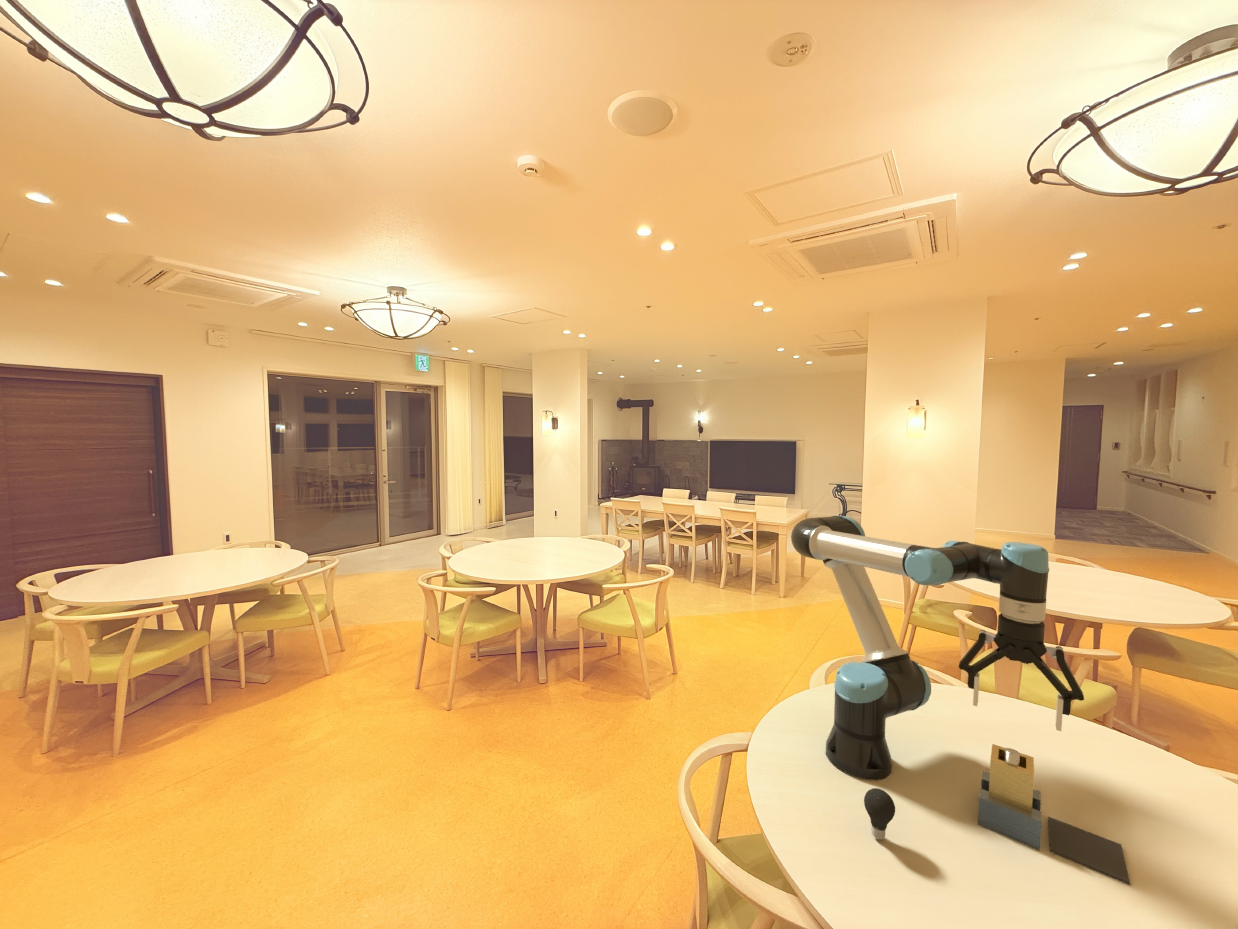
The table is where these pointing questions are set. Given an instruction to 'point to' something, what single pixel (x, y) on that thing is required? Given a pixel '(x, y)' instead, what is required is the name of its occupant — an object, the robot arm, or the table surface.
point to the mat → (1087, 849)
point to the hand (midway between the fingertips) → (1015, 715)
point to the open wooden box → (1011, 779)
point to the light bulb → (879, 811)
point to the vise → (1010, 812)
